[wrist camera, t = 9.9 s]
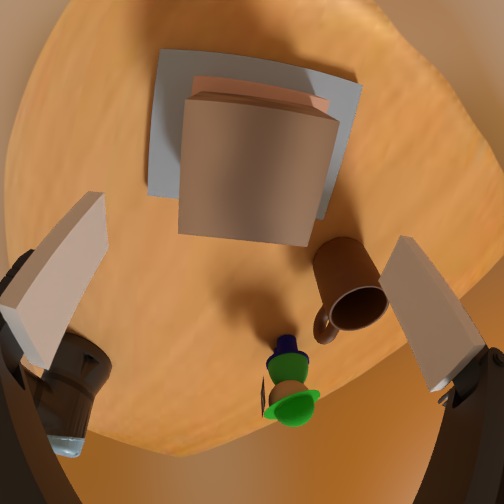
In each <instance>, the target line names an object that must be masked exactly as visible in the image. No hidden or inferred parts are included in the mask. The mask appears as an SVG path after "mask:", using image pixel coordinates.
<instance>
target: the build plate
mask: <svg viewBox="0 0 504 504" xmlns="http://www.w3.org/2000/svg"><path fill="white" fill-rule="evenodd" d="M362 87H363V85H361V84H358V83H355V82H352V81H349V80H346V79H342V78H339V77H336V76H333V75H329V74H326V73H322V72H318V71H315V70H311V69H307V68H303V67H299V66H295V65H290V64H286V63H281V62H276V61H271V60H266V59H260V58H254V57H248V56H241V55H234V54H227V53H218V52H208V51H196V50H179V49H160V53H159V59H158V66H157V73H156V81H155V89H154V98H153V108H152V118H151V131H150V145H149V164H148V196H157V197H165V198H174V199H179V184H180V163H181V146H182V132H183V119H184V108H185V99H187V98H189V97H191V96H193V95H195V94H197V93H199V92H201V91H206V92H218V93H229V94H238V95H247V96H254V97H262V98H268V99H275V100H281V101H287V102H292V103H297V104H303V105H308V106H312V107H315V108H317V109H319V110H320V111H322V112H324V113H326V114H328V115H329V116H331V117H333V118H334V119H336V120H338V121H340V124H339V128H338V133H337V137H336V141H335V145H334V149H333V153H332V157H331V161H330V165H329V169H328V173H327V177H326V181H325V185H324V189H323V192H322V196H321V200H320V203H319V207H318V211H317V214H316V218H315V219H319V220H323V219H324V216H325V213H326V210H327V207H328V204H329V201H330V198H331V195H332V192H333V189H334V185H335V182H336V179H337V176H338V172H339V169H340V166H341V163H342V159H343V156H344V153H345V149H346V146H347V142H348V139H349V135H350V132H351V128H352V125H353V121H354V117H355V114H356V110H357V106H358V103H359V99H360V95H361V91H362Z"/></svg>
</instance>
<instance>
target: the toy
mask: <svg viewBox="0 0 504 504" xmlns="http://www.w3.org/2000/svg"><path fill="white" fill-rule="evenodd" d="M308 364H309V357H308V355H307V354H306V353H304V352H302V351H298V348H297V342H296V338H295V337H294V336H293V335H283V336H280V337H279V338H278V339H277V347H276V348H275V349H274V354H273V355H272V356H270V357H269V358H268V360H267V362H266V367H267V369H268V371H269V374H270V377H271V379H272V381H273V383H274V384H275V385H276V386H275V387H274V388H273V389H272V391H271V392H270V395H269V408H268V409H267V410H266V411H265V412H264V407H265V390H264V376H263V383H262V389H261V406H262V417H263V412H264V417H265V418H267V419H277V420H278V421H280V422H281V423H282V424H284V425H286V426H290V427H297V426H301V425H303V424H305V423H306V422H308V421H309V420H310V418H311V417H312V415H313V413H314V403H315V402H316V401H317V400H318V398H319V397H320V392H319V391H317V390H308V388H307V387H306V386H305V385H304V384H303V383H304V382H305V380H306V377H307V374H308Z"/></svg>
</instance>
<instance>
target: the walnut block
mask: <svg viewBox="0 0 504 504" xmlns="http://www.w3.org/2000/svg"><path fill="white" fill-rule="evenodd" d="M339 124H340V121H338V120H336V119H334V118H333V117H331V116H329V115H328V114H326V113H324V112H322V111H320V110H319V109H317V108H315V107H312V106H308V105H303V104H297V103H292V102H287V101H281V100H275V99H268V98H262V97H254V96H247V95H238V94H229V93H218V92H206V91H201V92H199V93H197V94H195V95H193V96H191V97H189V98H187V99H185V108H184V119H183V132H182V146H181V163H180V184H179V218H178V234H186V235H196V236H206V237H216V238H226V239H236V240H246V241H255V242H265V243H274V244H284V245H293V246H302V247H307V246H308V242H309V239H310V236H311V232H312V229H313V225H314V222H315V218H316V214H317V211H318V207H319V203H320V200H321V196H322V192H323V189H324V185H325V181H326V177H327V173H328V169H329V165H330V161H331V157H332V153H333V149H334V145H335V141H336V137H337V133H338V128H339Z"/></svg>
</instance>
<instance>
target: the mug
mask: <svg viewBox="0 0 504 504" xmlns="http://www.w3.org/2000/svg"><path fill="white" fill-rule="evenodd" d="M313 270H314V275H315V278H316V281H317V285H318V289H319V292H320V296H321V299H322V303H323V305H322V307H321V309H320V310H319V312H318V313H317V315H316V318H315V321H314V326H313V333H314V338H315V339H316V341H317V342H318V343H320V344H327V343H330V342H331V341H332V340H334V338H335V337H336V335H337V333H338V332H339V330H344V331H353V330H359V329H362V328H365V327H367V326H369V325H371V324H373V323H374V322H376V321H377V320H378V319H380V318H381V317H382V315H383V314H384V313H385V312H386V310H387V308H388V305H389V300H388V299H387V297H386V295H385V293H384V291H383V289H382V287H381V285H380V283H379V281H378V280H379V278H380V274H379V272H378V270H377V268H376V267H375V265H374V263H373V261H372V260H371V258H370V256H369V254H368V253H367V251H366V249H365V248H364V246H363V245H362V244H361V243H360V242H358V241H357V240H354V239H351V238H337V239H334V240H331V241H329V242H327V243H326V244H324V245H323V246H322V247H321V248H320V249H319V250H318V252H317V253H316V255H315V257H314V261H313ZM328 319H329V323H328V325H327V327H326V323H327V321H328Z"/></svg>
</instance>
